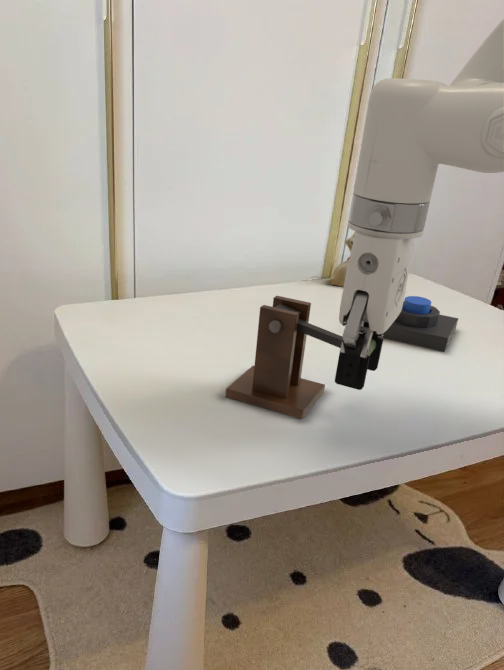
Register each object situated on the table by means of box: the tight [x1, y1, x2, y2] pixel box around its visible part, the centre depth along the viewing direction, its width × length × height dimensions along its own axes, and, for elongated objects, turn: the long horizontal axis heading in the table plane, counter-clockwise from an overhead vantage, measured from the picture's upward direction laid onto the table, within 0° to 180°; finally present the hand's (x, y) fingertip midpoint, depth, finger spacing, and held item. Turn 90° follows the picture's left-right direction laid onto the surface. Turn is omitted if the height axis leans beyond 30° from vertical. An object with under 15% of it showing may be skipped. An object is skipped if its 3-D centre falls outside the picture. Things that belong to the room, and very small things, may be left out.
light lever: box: [276, 304, 376, 356], centre depth 73 cm, size 12×5×2 cm, turn 62°
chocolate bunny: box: [329, 231, 356, 288], centre depth 119 cm, size 6×8×10 cm
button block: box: [380, 302, 459, 353], centre depth 99 cm, size 12×10×4 cm
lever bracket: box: [225, 295, 326, 420], centre depth 76 cm, size 10×8×12 cm
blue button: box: [403, 295, 432, 314], centre depth 98 cm, size 4×4×2 cm
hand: (356, 374), depth 72 cm, fingers closed on light lever, 5 cm apart
